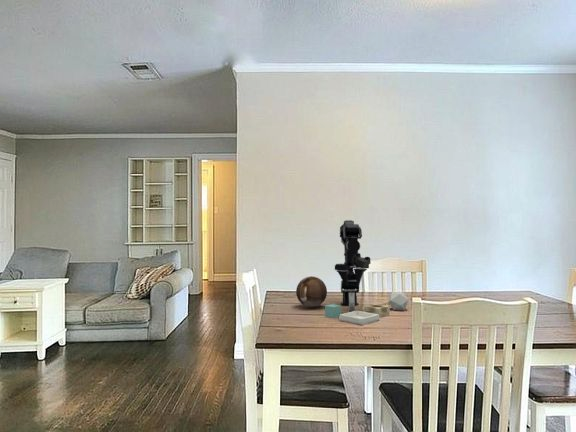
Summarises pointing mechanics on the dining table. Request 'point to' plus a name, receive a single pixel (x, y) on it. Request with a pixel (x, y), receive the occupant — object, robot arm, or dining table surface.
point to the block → (332, 310)
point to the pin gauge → (351, 302)
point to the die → (398, 301)
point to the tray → (359, 317)
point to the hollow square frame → (377, 309)
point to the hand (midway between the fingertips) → (352, 284)
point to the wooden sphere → (311, 291)
